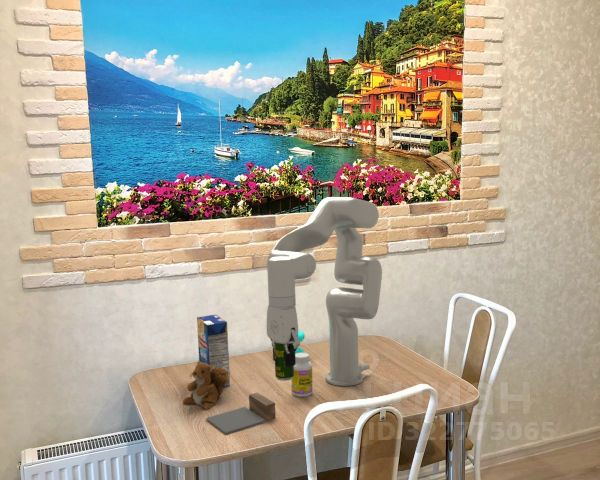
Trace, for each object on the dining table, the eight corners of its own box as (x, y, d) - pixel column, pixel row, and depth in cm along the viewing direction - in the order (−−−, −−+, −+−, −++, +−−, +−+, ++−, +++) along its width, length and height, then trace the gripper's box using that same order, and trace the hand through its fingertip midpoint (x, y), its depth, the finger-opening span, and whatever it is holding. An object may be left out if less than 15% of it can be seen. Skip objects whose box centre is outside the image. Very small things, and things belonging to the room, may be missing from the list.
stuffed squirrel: (180, 404, 199) (177, 364, 197) (213, 390, 210) (211, 351, 208) (202, 412, 193) (199, 370, 191) (235, 397, 203) (233, 357, 201)
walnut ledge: (258, 406, 196) (257, 392, 195) (275, 417, 188) (274, 402, 187) (249, 408, 194) (248, 394, 193) (266, 420, 186) (266, 405, 185)
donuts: (302, 336, 231) (275, 336, 233) (303, 363, 233) (276, 362, 234) (306, 328, 241) (280, 328, 242) (306, 354, 243) (280, 353, 244)
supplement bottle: (297, 399, 201) (296, 359, 199) (288, 392, 206) (287, 353, 204) (316, 394, 204) (315, 356, 202) (306, 388, 209) (305, 350, 207)
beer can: (284, 372, 186) (282, 332, 184) (298, 376, 182) (296, 336, 180) (271, 378, 182) (269, 337, 180) (285, 382, 178) (284, 341, 176)
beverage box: (210, 390, 210) (207, 325, 207) (200, 379, 220) (196, 317, 216) (230, 386, 213) (227, 322, 210) (218, 375, 223) (216, 314, 219)
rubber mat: (245, 408, 194) (244, 406, 194) (265, 422, 185) (265, 420, 185) (206, 419, 187) (206, 418, 187) (225, 434, 177) (225, 432, 177)
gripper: (254, 297, 183) (257, 357, 186) (287, 309, 169) (290, 374, 172) (276, 293, 188) (279, 352, 190) (310, 304, 174) (312, 368, 176)
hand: (284, 362), depth 181 cm, fingers closed on beer can, 5 cm apart
